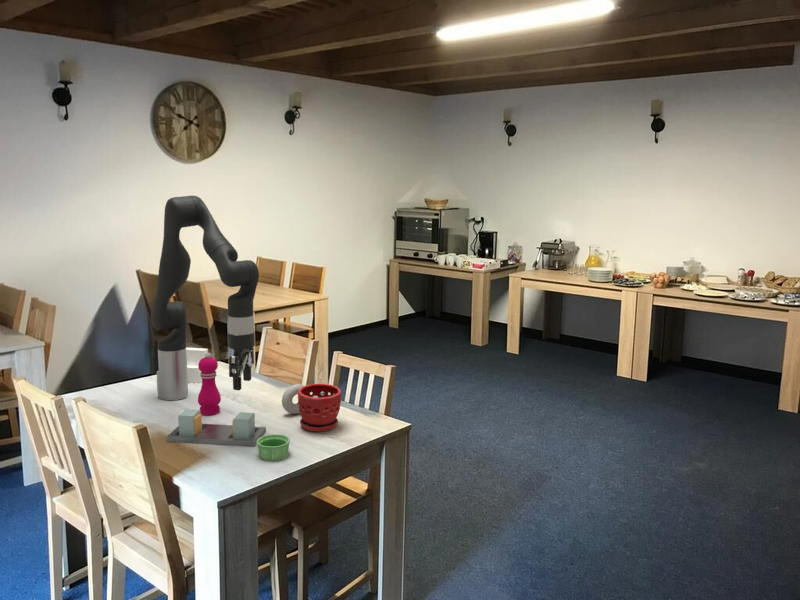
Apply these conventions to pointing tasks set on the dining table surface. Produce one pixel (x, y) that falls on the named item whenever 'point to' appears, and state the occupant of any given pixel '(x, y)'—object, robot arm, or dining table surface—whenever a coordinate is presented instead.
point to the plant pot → (319, 407)
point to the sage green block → (190, 422)
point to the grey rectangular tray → (217, 436)
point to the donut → (288, 397)
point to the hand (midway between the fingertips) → (242, 385)
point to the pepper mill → (208, 386)
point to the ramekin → (273, 446)
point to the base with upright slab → (194, 363)
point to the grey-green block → (244, 426)
